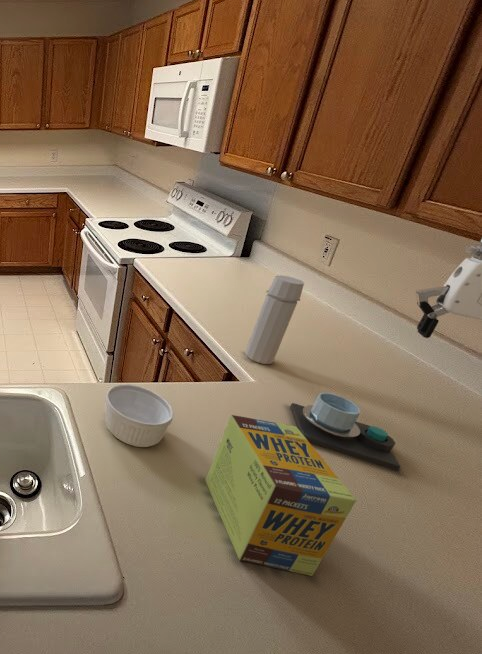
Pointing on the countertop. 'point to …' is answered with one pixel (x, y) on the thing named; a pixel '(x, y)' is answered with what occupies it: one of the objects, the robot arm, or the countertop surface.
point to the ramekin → (137, 415)
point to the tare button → (377, 433)
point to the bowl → (335, 411)
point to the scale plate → (343, 433)
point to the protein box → (276, 495)
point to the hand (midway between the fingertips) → (456, 342)
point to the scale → (348, 441)
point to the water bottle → (274, 319)
